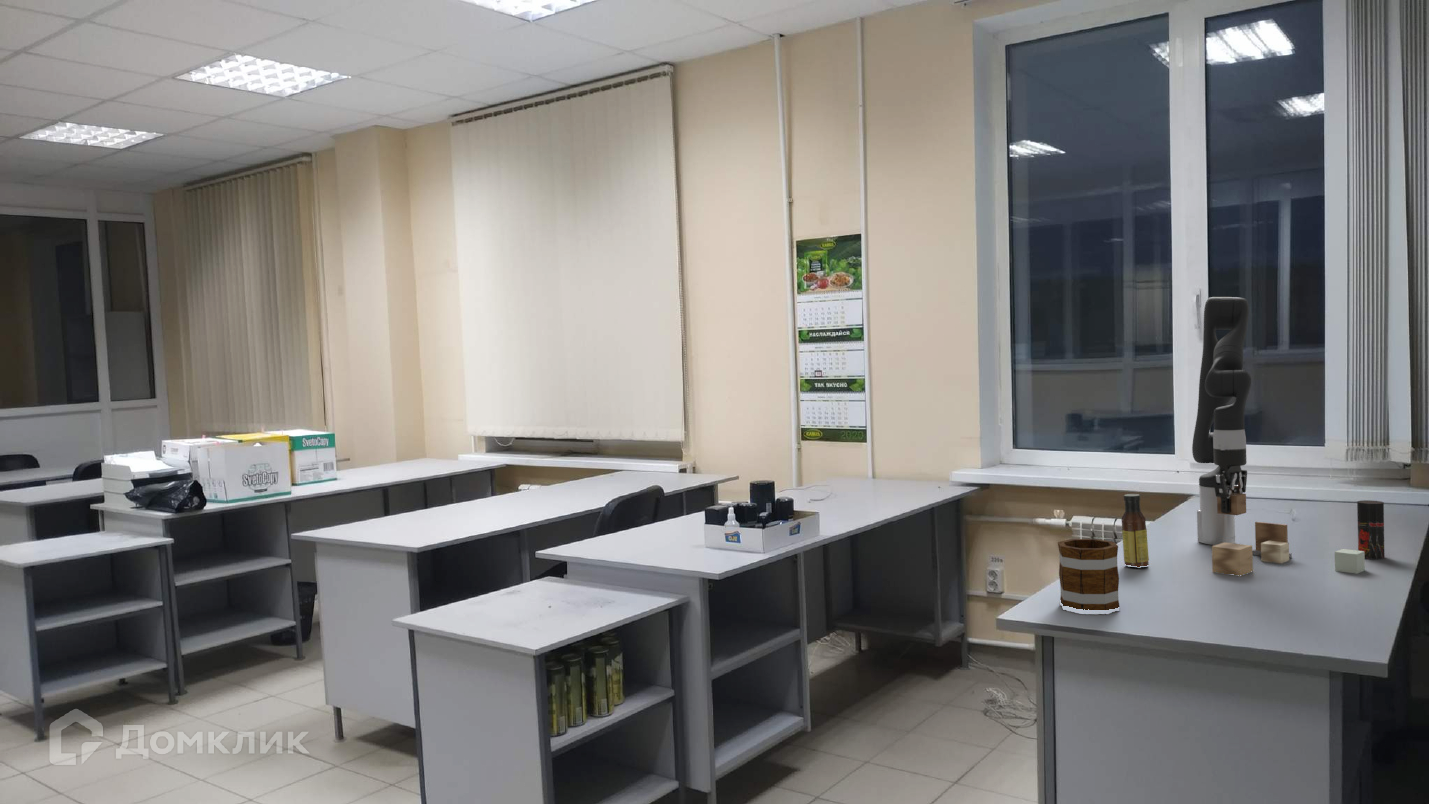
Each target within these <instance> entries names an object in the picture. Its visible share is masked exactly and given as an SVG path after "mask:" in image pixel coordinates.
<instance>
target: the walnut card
mask: <svg viewBox="0 0 1429 804" xmlns="http://www.w3.org/2000/svg"><path fill="white" fill-rule="evenodd" d="M1254 529H1255V530H1254V531H1255V532H1254V534H1255V549H1252V555H1253V556H1259V557H1261V543H1263V542H1266V541H1269V540H1270V541H1278V542H1287V543H1289V542H1288V541H1289V537H1288V524H1285V523H1284V524H1282V523H1272V522H1264V521H1263V522H1262V521H1255V522H1254ZM1289 559H1292V553H1291V552H1289Z"/></svg>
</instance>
